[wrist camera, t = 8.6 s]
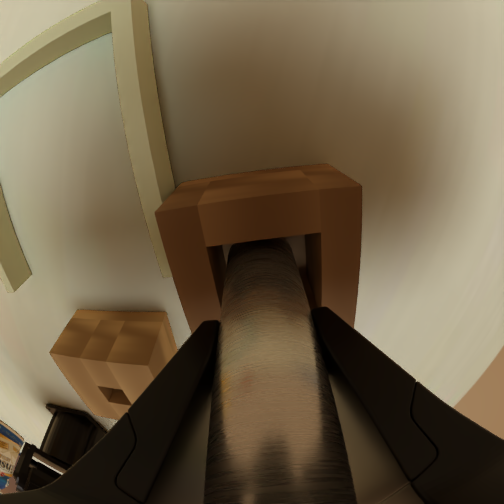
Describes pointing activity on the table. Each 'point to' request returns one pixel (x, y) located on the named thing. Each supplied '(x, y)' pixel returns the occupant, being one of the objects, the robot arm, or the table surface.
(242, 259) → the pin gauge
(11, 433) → the beverage bottle
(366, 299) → the table surface
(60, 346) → the block
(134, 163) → the tray
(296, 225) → the block
